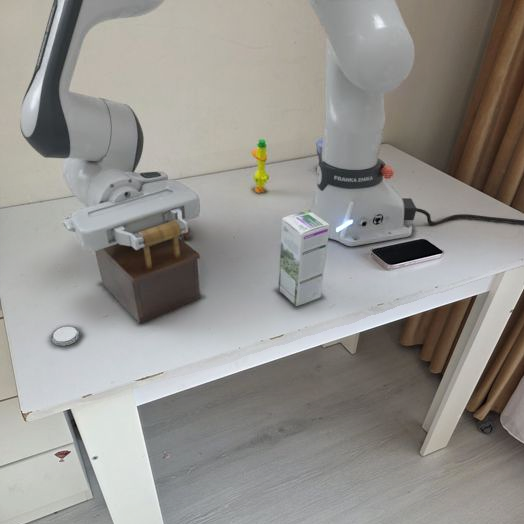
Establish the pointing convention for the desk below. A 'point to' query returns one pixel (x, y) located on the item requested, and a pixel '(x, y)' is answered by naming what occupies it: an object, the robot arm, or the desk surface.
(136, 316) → the box
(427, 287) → the desk surface
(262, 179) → the toy figure
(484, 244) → the desk surface
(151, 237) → the chest lid
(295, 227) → the syrup box
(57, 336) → the white flat disc
